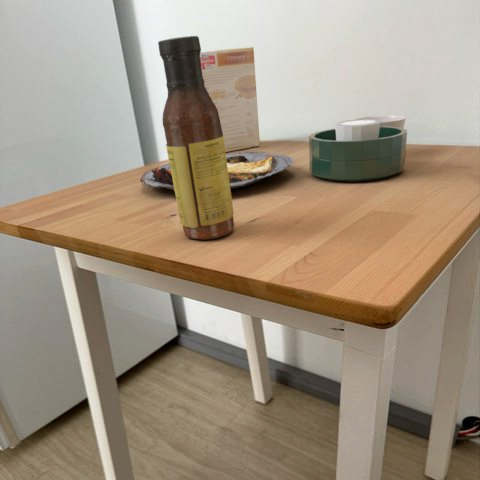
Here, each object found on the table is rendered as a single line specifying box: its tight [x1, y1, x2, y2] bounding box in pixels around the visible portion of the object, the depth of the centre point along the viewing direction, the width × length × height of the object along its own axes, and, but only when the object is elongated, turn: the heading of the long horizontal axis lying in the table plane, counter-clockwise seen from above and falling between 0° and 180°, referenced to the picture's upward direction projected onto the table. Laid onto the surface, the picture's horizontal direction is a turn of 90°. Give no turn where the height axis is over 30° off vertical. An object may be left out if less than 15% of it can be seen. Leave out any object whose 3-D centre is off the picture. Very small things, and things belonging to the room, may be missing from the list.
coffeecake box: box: [200, 46, 261, 153], centre depth 101 cm, size 15×7×20 cm, turn 120°
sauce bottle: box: [157, 35, 235, 241], centre depth 51 cm, size 7×6×20 cm
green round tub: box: [308, 126, 408, 183], centre depth 75 cm, size 15×15×6 cm
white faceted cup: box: [334, 119, 381, 141], centre depth 74 cm, size 7×7×7 cm
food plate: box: [139, 151, 295, 192], centre depth 78 cm, size 25×23×4 cm
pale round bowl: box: [353, 114, 407, 129], centre depth 84 cm, size 9×9×6 cm
